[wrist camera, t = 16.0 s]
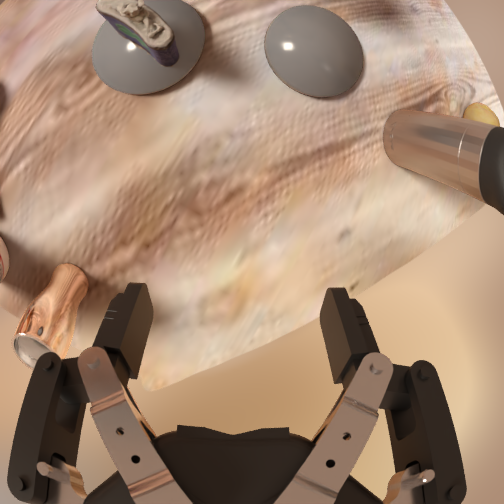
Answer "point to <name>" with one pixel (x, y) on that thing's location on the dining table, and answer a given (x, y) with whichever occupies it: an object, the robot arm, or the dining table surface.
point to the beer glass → (51, 316)
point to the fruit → (481, 114)
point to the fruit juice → (3, 260)
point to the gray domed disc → (313, 51)
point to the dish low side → (142, 64)
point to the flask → (141, 28)
